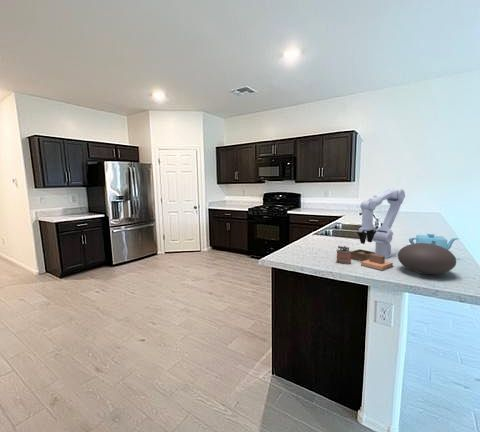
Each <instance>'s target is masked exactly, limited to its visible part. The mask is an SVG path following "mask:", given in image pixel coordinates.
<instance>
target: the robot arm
mask: <svg viewBox="0 0 480 432" xmlns="http://www.w3.org/2000/svg"><path fill="white" fill-rule="evenodd" d="M405 197H406V192H405V190H404V189H403V188H402V189H401V188H400V189H396V188H395V189H393V188H392V189H390V188H388V189H385V191H384V192H383V193H381V194H380V195H376V194H375V195H373V197H371V198H368V199H367V200H363V201H362V202H361V203H360V209H361V213H362V214H361V215H362V216H361V217H362V218H361V226H360V227H359V228H358V231H357V232H356V233H357V235H358V237H359V241H360V242H359V243H360V244H363V245H365V244H366V239H367V242H368V243H372V242H373V241H374V242H375V249H374V252H375V254H377V255H381V256H385V259H388V258H391V257H393V255H392V254H391V252H392V245H391V243H392V240H393V236H394V232H393V231H392V230H391V229H392V227H393V224H394V223H395V219H396V218H397V215H398V213H399V210H400V208H401V206H402V204H403V202H404V200H405ZM383 201H387V203H388V204H389V205H390V206H389V208H388V211H387V213H386V214H385V217H384V219H383V221H382V224H381V226H380V227H377V228H376V227H375V226H373V220H374V211H375V210H376V208H377V207H378V206H380V205H382V204H383Z"/></svg>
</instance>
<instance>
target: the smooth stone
mask: <svg viewBox="0 0 480 432" xmlns="http://www.w3.org/2000/svg"><path fill="white" fill-rule="evenodd" d="M414 243H415V244H411V243H410V244H407V245H404V246H403V247H401V248H400V249H399V250H398V252H397V259H398V261H399V263H400V264H401V265H402V266H404V267H405V268H407V269H409V270H410V271H413V272H414V273H415V272H416V273H419V274H424V275H440V274H445V273H448V272H450V271H452V270H453V269H454V268H455V267H456V265H457V258H456V256H455V254H454V253H452V251H450V249H449V250H447V249H445V248H443V247H441V246H438V245H434V244H428V243H416V242H414Z"/></svg>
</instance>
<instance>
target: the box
mask: <svg viewBox="0 0 480 432" xmlns="http://www.w3.org/2000/svg"><path fill="white" fill-rule="evenodd" d="M350 251H351V250H350ZM370 254H375V251H370V250H366V249H360V248H359V249H355V250H352V251H351V260H354V261H358V262H362V261H365V260H369V256H370Z"/></svg>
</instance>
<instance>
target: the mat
mask: <svg viewBox="0 0 480 432" xmlns="http://www.w3.org/2000/svg"><path fill="white" fill-rule="evenodd" d="M360 266H361V267H363V268H364V267H365V268H369V269H373V270H377V271H380V272H383V271H386V270H388V269H391V268H394V265H393V266H391V267H388V268H386V269H383V270H380V269H376V268H372V267H367V266H363V265H361V264H360Z"/></svg>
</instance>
